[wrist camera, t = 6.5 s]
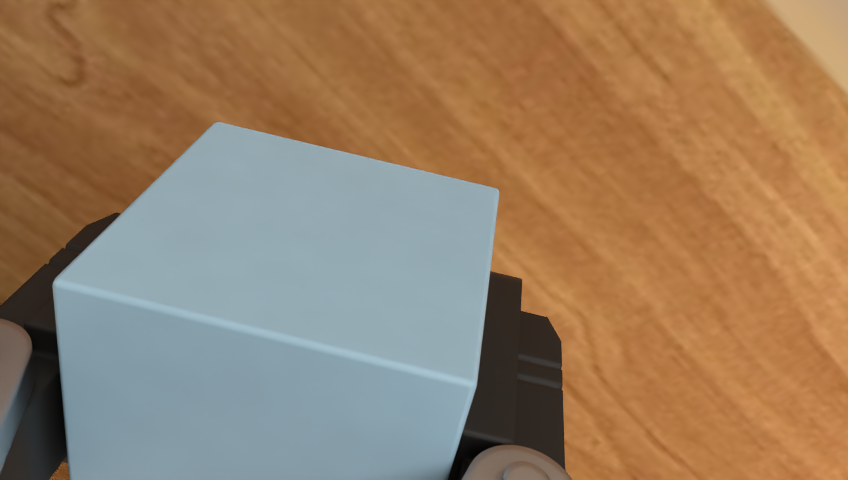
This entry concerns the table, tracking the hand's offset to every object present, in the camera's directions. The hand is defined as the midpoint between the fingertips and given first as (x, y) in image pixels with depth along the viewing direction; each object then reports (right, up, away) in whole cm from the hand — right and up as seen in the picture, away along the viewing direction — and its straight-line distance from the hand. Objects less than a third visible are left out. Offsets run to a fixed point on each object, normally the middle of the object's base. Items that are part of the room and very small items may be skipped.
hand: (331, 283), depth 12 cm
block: (0, 0, 0) cm, 0 cm away
